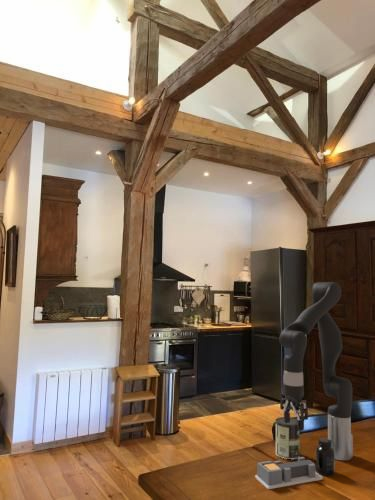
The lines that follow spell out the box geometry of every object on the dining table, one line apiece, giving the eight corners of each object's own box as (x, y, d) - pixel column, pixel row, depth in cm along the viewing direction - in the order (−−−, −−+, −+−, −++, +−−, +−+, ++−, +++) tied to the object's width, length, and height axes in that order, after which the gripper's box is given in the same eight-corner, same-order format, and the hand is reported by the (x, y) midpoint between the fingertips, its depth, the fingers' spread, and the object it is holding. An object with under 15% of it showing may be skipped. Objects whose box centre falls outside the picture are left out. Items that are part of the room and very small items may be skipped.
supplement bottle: (334, 469, 153) (334, 438, 154) (335, 477, 147) (334, 444, 148) (316, 466, 156) (316, 435, 157) (316, 474, 149) (315, 442, 150)
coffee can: (298, 451, 170) (298, 418, 172) (300, 461, 160) (300, 426, 162) (274, 448, 172) (275, 415, 174) (275, 458, 162) (275, 423, 164)
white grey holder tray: (307, 468, 154) (307, 454, 154) (322, 479, 145) (322, 464, 146) (254, 477, 145) (255, 462, 146) (268, 489, 137) (268, 473, 137)
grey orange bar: (308, 469, 151) (308, 458, 152) (315, 474, 147) (315, 462, 147) (263, 477, 144) (263, 464, 144) (270, 482, 140) (270, 470, 140)
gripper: (313, 386, 144) (313, 431, 143) (290, 377, 157) (290, 419, 156) (296, 388, 141) (297, 434, 140) (274, 379, 155) (274, 421, 153)
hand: (293, 426), depth 148 cm, fingers open, 8 cm apart
